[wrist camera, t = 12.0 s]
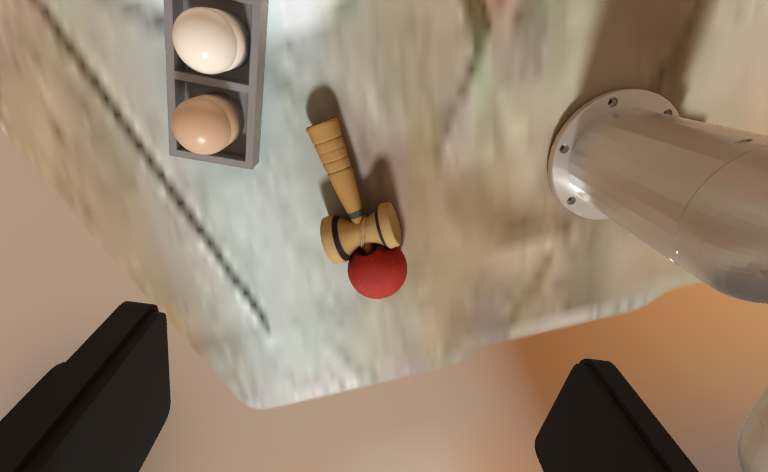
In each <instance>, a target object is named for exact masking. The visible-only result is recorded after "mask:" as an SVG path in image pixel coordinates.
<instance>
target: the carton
mask: <svg viewBox="0 0 768 472" xmlns="http://www.w3.org/2000/svg"><path fill="white" fill-rule="evenodd" d="M193 7H207V8H215V9H223V10H227V11H230V12H232V13H234V14H235V15H237V16H238V17H239V18H240V19H241V20H242V21H243V22H244V23H245V25H246V26H247V28H248V30H249V33H250V36H251V48H250V56H249V58H248V60H247V61H246V62H245V63H244V64H243V65H242V66H240V67H238V68H235V69H232V70H229V71H225V72H222V73H219V74H204V73H201V72H198V71H196V70H194V69H192V68H191V67H189V66H188V65H187V64H186V63H184V62H183V60H182V59H181V58H180V57H179V55H178V54H177V52H176V50H175V47H174V44H173V40H172V29H173V25H174V22H175V20H176V19H177V17H178V16H179V15H180V14H181V13H182V12H183V11H185V10H187V9H189V8H193ZM267 17H268V1H267V0H164V21H165V48H166V74H167V101H168V128H169V154H170V156H176V157H182V158H188V159H194V160H200V161H205V162H211V163H217V164H223V165H229V166H235V167H241V168H247V169H253V168H254V167H255V166H256V164H257V163H258V162H259V149H260V133H261V116H262V100H263V83H264V66H265V50H266V33H267Z"/></svg>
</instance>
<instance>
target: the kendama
mask: <svg viewBox="0 0 768 472" xmlns="http://www.w3.org/2000/svg"><path fill="white" fill-rule="evenodd" d="M306 130H307V132H308V134H309V136H310V138H311V140H312V142H313V144H314V145H315V149H316V151H317V153H318V154H319V157H320V159H321V161H322V163H323V166H324V168H325V170H326V172H327V173H328V177H329V179H330V181H331V183H332V186H333V188H334V190H335V192H336V194H337V196H338V198H339V199H340V201H341V203H342V205H343V207H344V208H345V210H346V212H347V214H348V215H349V217H350V219H351V221H350V220H346V219H343V218H341V217H339V216H338V215H336V214H334V215H331V216H328V217H325V218H323V219H322V221H321V227H320V233H321V240H322V244H323V247H324V250H325V252H326V254H327V256H328V258H329V259H330V260H331V261H332V262H333V263H336V264H337V263H342V262H346V261H348V260H349V263H348V276H349V279H350V281H351V283H352V285H353V287H354V288H355V289H356V290H357V291H358V292H359V293H361V294H362V295H364V296H366V297H369V298H373V299H382V298H386V297H389V296H391V295H393V294H394V293H395V292H397V291H398V290H399V289H400V288H401V286H402V285H403V283H404V281H405V279H406V275H407V263H406V259H405V257H404V254H403V253H402V251H401V250H400V249H399V248H398V247H397V246H400V244H401V230H400V225H399V221H398V218H397V215H396V213H395V210H394V208H393V206H392V204H391V203H390V202H386V203H380V204H379V205H378V207H377V208H376V210H375V211H374V212H373V213H372V214H371V215H370V216H368V217H367V216H365V215H364V214H363V209H362V204H361V200H360V195H359V191H358V187H357V183H356V179H355V176H354V172H353V169H352V166H350V165H351V163H350V159H349V156H348V153H347V149H346V146H345V143H344V139H343V137H342V132H341V129H340V125H339V121H338V118H336V117H335V118H332V119H330V120H326V121H324V122H321V123H318V124H315V125H312V126H310V127H307V129H306Z"/></svg>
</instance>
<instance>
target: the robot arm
mask: <svg viewBox="0 0 768 472" xmlns="http://www.w3.org/2000/svg"><path fill="white" fill-rule="evenodd" d="M609 100H610V102H609V103H608V101H609ZM561 146H562V148H561V149H560V147H561ZM548 177H549V183H550V186H551V188H552V191H553V193H554V195H555V196H556V198H557V199H558V201H559V202H560V203H561V204H563V205H564V206H565V207H566V208H567V209H569V210H570V211H572V212H573V213H574V214H577V215H579V216H582V217H584V218H589V219H595V220H598V219H611V220H613V221H614V222H616V223H617V224H619V225H620V226H622V227H623V228H624V229H626V230H627V231H629V232H630V233H632V234H633V235H635V236H636V237H637V238H639V239H640V240H642V241H643V242H645V243H646V244H648V245H649V246H650V247H652V248H653V249H655V250H656V251H658V252H659V253H661V254H662V255H663V256H665V257H666V258H668V259H669V260H671V261H672V262H674V263H675V264H676V265H678V266H679V267H681V268H682V269H684V270H685V271H687V272H688V273H690V274H691V275H693V276H694V277H696V278H697V279H699V280H700V281H702V282H703V283H705V284H706V285H708V286H709V287H711V288H713V289H714V290H716V291H718V292H720V293H723V294H725V295H728V296H730V297H733V298H737V299H740V300H744V301H749V302H757V303H767V304H768V136H765V135H760V134H756V133H751V132H747V131H742V130H737V129H733V128H728V127H723V126H719V125H714V124H710V123H705V122H700V121H696V120H691V119H687V118H682V117H680V116H679V114H678V112H677V110H676V109H675V107H674V106H673V105H672V104H671V103H670V102H669V101H668V100H667V99H665V98H664V97H662V96H661V95H659V94H656V93H654V92H651V91H648V90H641V89H619V90H614V91H610V92H607V93H605V94H602V95H600V96H597V97H595V98H594V99H592V100H590V101H589V102H587V103H585V104H584V105H583V106H582V107H580V108H579V109H578V110H577V111H576V112H574V113H573V114H572V116H571V117H570V118H569V119H568V120H567V121H566V122H565V124H564V125H563V126H562V128H561V130H560V131H559V133H558V134H557V136H556V138H555V141H554V143H553V145H552V148H551V151H550V156H549V160H548ZM568 198H569V199H568ZM167 341H168V340H167V320H166V315H165V313H161V312H159V311H158V307H157V306H156V305H154V304H145V303H138V302H129V301H126V302H123V303H122V304H121V305H120V306H119V307H118V308H117V309H116V310H115V311H114V312H113V313H112V314H111V315H110V316H109V317H108V318H107V319H106V320H105V321H104V322H103V324H102V325H101V326H100V327H99V328H98V329H97V330H96V331H95V332H94V333H93V334H92V335H91V336H90V337H89V338H88V339H87V340H86V341H85V342H84V344H83V345H82V346H81V347H80V348H79V349H78V350H77V351H76V352H75V353H74V354H73V355H72V356H71V357H70V358H69V359H68V360H67V361H66V362H63V363H61V364H58V365H56V366H55V367H54V368H52V369H51V370H50V371H49V372H48V373H47V374H46V375H45V376H44V377H43V378H42V379H41V380H40V381H39V382H38V383H37V384H36V385H35V386H34V387H33V388H32V389H31V390H30V391H29V392H28V393H27V394H26V395H25V396H24V397H23V398H22V399H21V400H20V401H19V402H18V403H17V405H16V406H15V407H14V408H13V409H12V410H11V411H10V412H9V413H8V414H7V415H6V416H5V417H4V418H3V419H2V420H1V421H0V472H139V470H140V468H141V467H142V465H143V462H144V461H145V459H146V457H147V455H148V454H149V452H150V450H151V448H152V446H153V444H154V442H155V440H156V438H157V437H158V435H159V433H160V431H161V429H162V427H163V425H164V423H165V421H166V419H167V417H168V414H169V410H170V403H171V401H170V382H169V361H168V342H167ZM535 450H536V454H537V457H538V459H539V462H540V464H541V466H542V469H543V471H544V472H698V470H697V469H696V468H695V466H694V465H693V464H692V463H691V461H690V460H689V459H688V458H687V457H686V455H685V454H684V452H683V451H682V450H681V449H680V448H679V446H678V445H677V444H676V442H675V441H674V440H673V439H672V437H671V436H670V435H669V434H668V432H667V431H666V430H665V428H664V427H663V426H662V425H661V423H660V422H659V421H658V420H657V418H656V417H655V416H654V415H653V414H652V412H651V411H650V410H649V408H648V407H647V406H646V404H645V403H644V402H643V401H642V399H641V398H640V397H639V396H638V394H637V393H636V392H635V391H634V389H633V388H632V387H631V386H630V384H629V383H628V382H627V381H626V379H625V378H624V377H623V375H622V374H621V373H620V372H619V370H618V369H617V368H616V367H615V366H614V365H613V364H612V363H611V362H609V361H602V360H594V359H584V360H581V361H580V363H579V364H576V365H574V367H573V368H572V370H571V372H570V374H569V376H568V378H567V380H566V381H565V383H564V385H563V387H562V389H561V391H560V393H559V395H558V397H557V399H556V401H555V402H554V404H553V406H552V408H551V410H550V412H549V414H548V416H547V418H546V420H545V422H544V424H543V425H542V427H541V429H540V431H539V433H538V435H537V437H536V440H535ZM738 459H739V463H740V466H741V469H742V471H743V472H768V387H767V388H766V389H765V391H764V392H763V394H762V395H761V397H760V398H759V400H758V402H757V403H756V404H755V406H754V407H753V409H752V410H751V412H750V413H749V415H748V417H747V419H746V420H745V422H744V424H743V426H742V429H741V431H740V434H739V439H738Z"/></svg>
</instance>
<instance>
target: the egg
mask: <svg viewBox="0 0 768 472" xmlns="http://www.w3.org/2000/svg"><path fill="white" fill-rule="evenodd" d="M172 40H173V44H174V47H175V50H176V52H177V54H178V55H179V57H180V58H181V59H182V60H183V62H184V63H186V64H187V65H188V66H189V67H191V68H192V69H194V70H196V71H198V72H201V73H204V74H219V73H222V72H225V71H229V70H232V69H235V68H238V67H240V66H242V65H243V64H244V63H245V62H246V61H247V60H248V58H249V56H250V48H251V36H250V33H249V30H248V28H247V26H246V25H245V23H244V22H243V21H242V20H241V19H240V18H239V17H238V16H237V15H235V14H234V13H232V12H230V11H227V10H223V9H215V8H207V7H193V8H189V9H187V10H185V11H183V12H182V13H181V14H180V15H179V16H178V17H177V19H176V20H175V22H174V25H173V29H172Z"/></svg>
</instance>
